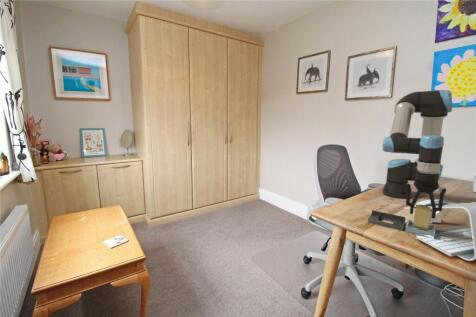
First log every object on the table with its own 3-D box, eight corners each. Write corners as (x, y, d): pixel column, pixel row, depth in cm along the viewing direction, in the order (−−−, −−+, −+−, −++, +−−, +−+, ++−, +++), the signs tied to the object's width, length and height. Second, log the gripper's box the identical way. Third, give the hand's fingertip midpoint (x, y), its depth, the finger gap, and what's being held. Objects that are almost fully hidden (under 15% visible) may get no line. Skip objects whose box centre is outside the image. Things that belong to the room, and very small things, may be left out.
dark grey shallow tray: (371, 215, 121) (372, 210, 120) (404, 223, 112) (405, 217, 111) (367, 222, 113) (368, 216, 113) (402, 230, 104) (403, 224, 104)
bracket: (440, 224, 110) (442, 209, 109) (423, 223, 112) (425, 208, 110) (424, 213, 123) (426, 199, 122) (409, 212, 124) (411, 199, 123)
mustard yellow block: (414, 223, 107) (416, 203, 106) (427, 226, 104) (430, 205, 102) (413, 227, 103) (415, 206, 102) (427, 230, 100) (430, 209, 99)
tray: (407, 223, 111) (407, 219, 111) (434, 229, 105) (435, 225, 104) (405, 231, 104) (405, 227, 103) (434, 238, 97) (435, 233, 97)
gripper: (401, 170, 102) (395, 220, 106) (457, 176, 91) (448, 232, 95) (403, 167, 108) (397, 214, 112) (456, 173, 96) (448, 225, 101)
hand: (421, 222), depth 103 cm, fingers closed on mustard yellow block, 5 cm apart
